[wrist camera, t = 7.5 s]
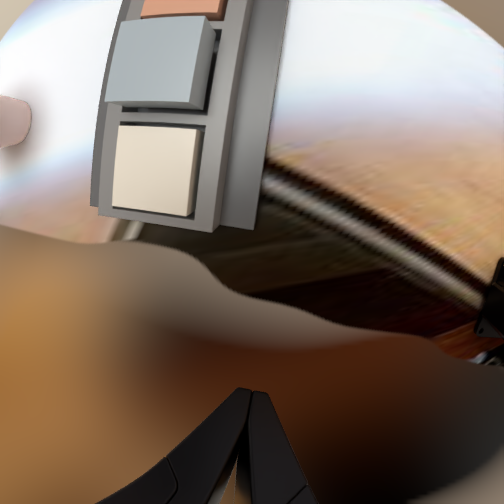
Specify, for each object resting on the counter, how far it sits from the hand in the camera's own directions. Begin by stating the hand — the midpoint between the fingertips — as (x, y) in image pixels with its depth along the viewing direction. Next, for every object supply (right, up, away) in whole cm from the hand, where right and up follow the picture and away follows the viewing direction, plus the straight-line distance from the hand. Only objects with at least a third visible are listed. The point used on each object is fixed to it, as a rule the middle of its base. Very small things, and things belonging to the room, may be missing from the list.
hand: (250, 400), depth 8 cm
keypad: (-4, +15, +9) cm, 17 cm away
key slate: (-4, +14, +6) cm, 16 cm away
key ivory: (-5, +9, +10) cm, 14 cm away
